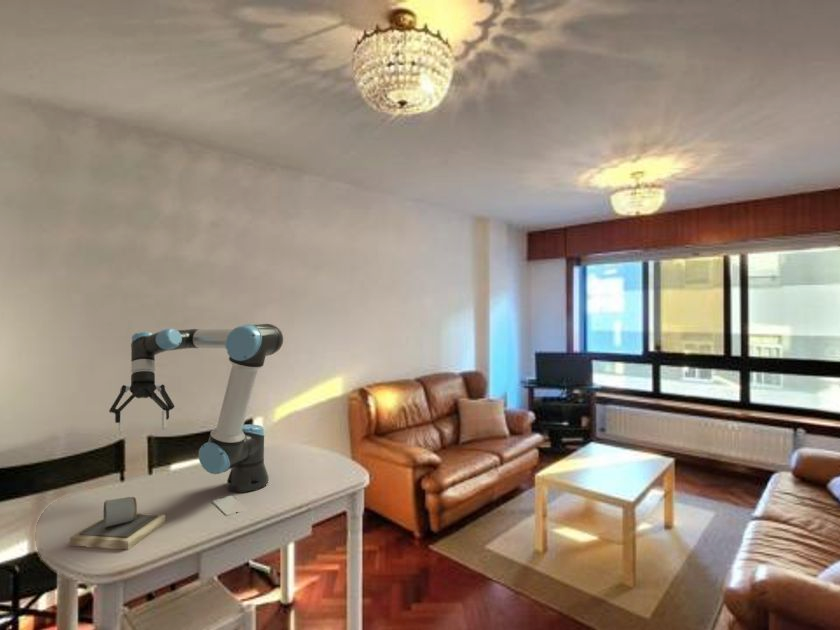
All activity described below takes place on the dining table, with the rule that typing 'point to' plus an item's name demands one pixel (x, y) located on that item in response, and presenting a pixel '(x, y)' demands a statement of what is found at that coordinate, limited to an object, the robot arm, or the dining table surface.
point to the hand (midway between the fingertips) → (142, 430)
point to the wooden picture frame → (118, 532)
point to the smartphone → (225, 503)
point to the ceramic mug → (119, 511)
